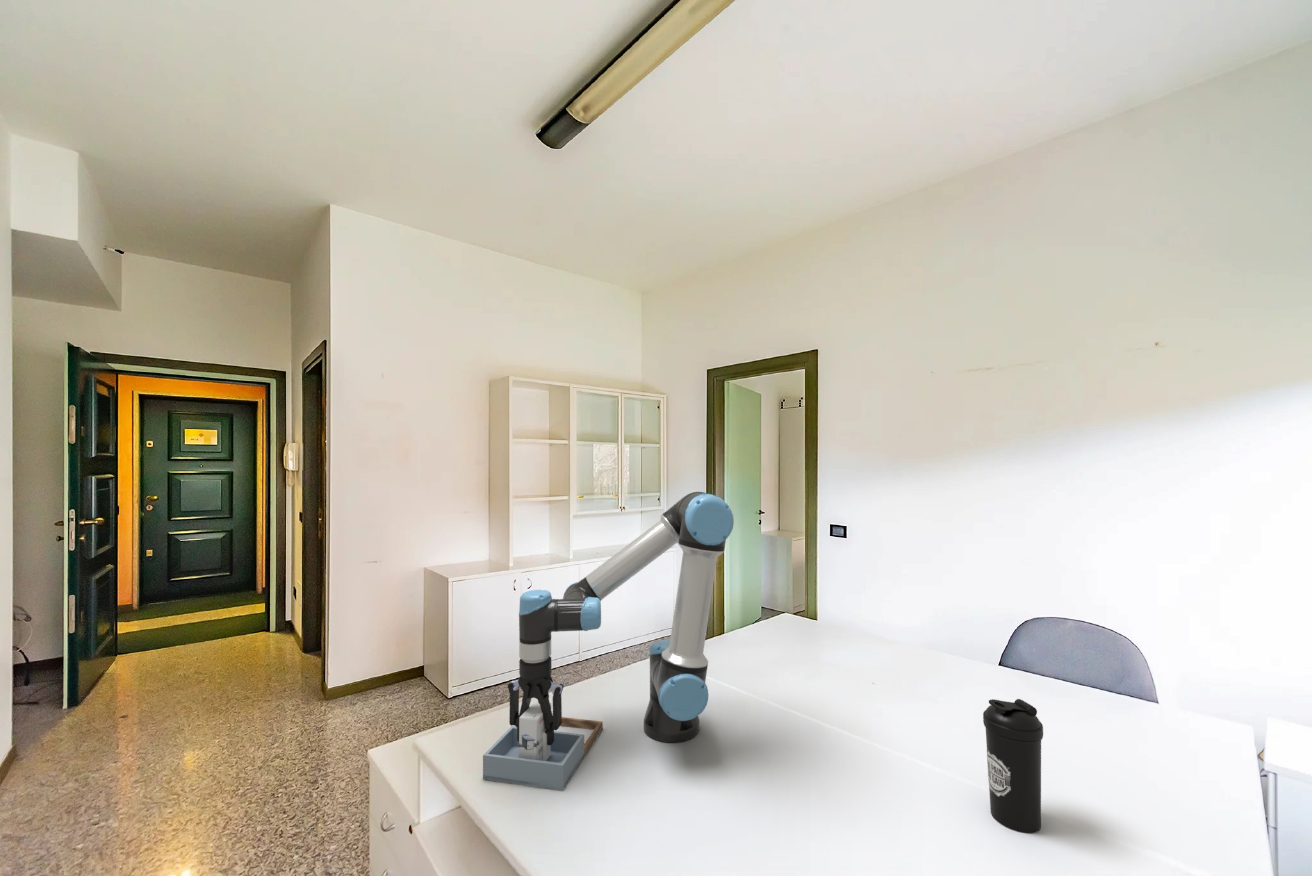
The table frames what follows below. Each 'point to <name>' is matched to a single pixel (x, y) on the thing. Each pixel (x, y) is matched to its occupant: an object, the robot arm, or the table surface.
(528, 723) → the ink box
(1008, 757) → the water bottle
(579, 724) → the walnut frame
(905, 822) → the table surface
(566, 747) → the grey bin
